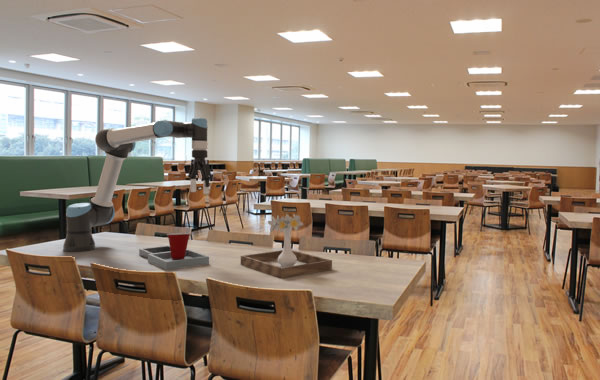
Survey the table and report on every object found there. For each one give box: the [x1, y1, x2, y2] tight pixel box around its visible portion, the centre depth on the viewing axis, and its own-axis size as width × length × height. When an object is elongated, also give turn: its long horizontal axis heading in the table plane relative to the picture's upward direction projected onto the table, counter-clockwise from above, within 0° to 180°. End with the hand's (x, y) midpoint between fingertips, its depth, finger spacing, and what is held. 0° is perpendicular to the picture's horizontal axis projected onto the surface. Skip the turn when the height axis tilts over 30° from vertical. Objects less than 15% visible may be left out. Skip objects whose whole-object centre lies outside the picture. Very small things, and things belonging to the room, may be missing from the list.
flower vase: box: [267, 213, 304, 268], centre depth 219 cm, size 12×18×24 cm
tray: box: [147, 249, 210, 271], centre depth 225 cm, size 20×20×4 cm
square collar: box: [138, 245, 171, 260], centre depth 241 cm, size 15×15×3 cm
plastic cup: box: [166, 232, 191, 259], centre depth 229 cm, size 11×11×12 cm
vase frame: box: [240, 249, 333, 279], centre depth 220 cm, size 31×27×4 cm
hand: (199, 192), depth 243 cm, fingers open, 13 cm apart
